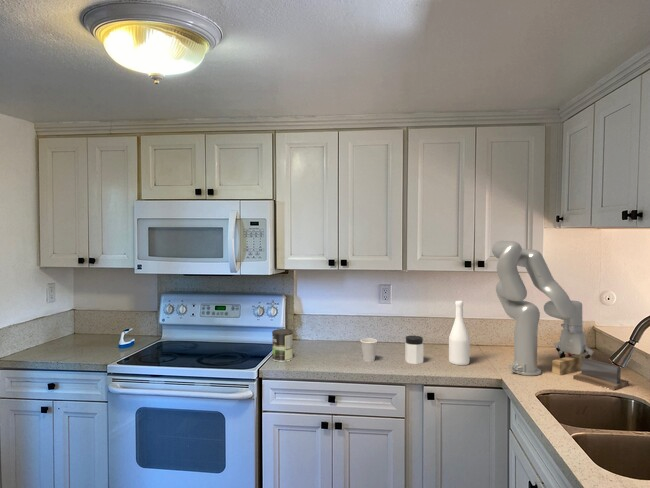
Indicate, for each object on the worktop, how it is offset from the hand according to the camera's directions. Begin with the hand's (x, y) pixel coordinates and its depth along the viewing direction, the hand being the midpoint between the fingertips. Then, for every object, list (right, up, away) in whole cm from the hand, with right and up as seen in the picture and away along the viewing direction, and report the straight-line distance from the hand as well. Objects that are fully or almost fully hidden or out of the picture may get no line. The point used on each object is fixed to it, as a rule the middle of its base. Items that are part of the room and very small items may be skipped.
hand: (573, 365), depth 199 cm
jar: (-70, -2, +14) cm, 71 cm away
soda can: (+12, -2, +20) cm, 23 cm away
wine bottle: (-49, -2, +11) cm, 50 cm away
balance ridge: (+2, -3, -16) cm, 16 cm away
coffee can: (-135, -3, +20) cm, 136 cm away
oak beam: (-1, -2, 0) cm, 2 cm away
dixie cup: (-92, -2, +17) cm, 93 cm away
